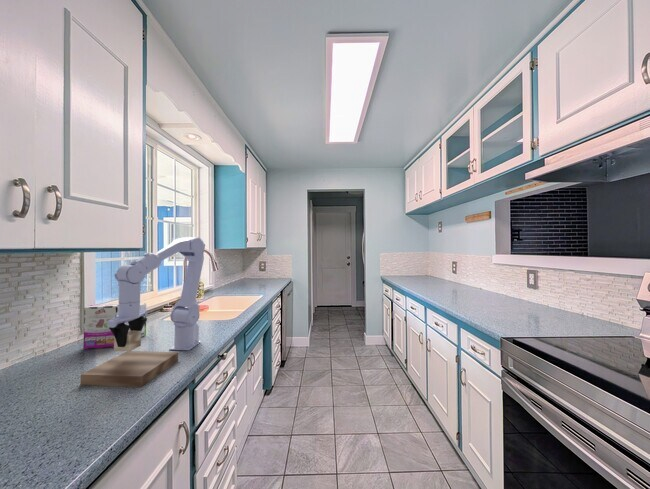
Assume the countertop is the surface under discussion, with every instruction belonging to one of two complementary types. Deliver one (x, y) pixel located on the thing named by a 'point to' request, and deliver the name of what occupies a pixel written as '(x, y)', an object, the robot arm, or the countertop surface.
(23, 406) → the countertop surface
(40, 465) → the countertop surface
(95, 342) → the candy bar box
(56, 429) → the countertop surface
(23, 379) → the countertop surface
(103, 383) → the walnut plinth
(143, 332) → the syrup box
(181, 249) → the robot arm
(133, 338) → the birch cube
